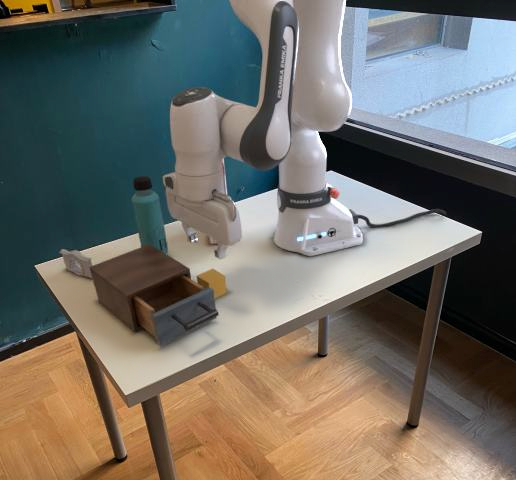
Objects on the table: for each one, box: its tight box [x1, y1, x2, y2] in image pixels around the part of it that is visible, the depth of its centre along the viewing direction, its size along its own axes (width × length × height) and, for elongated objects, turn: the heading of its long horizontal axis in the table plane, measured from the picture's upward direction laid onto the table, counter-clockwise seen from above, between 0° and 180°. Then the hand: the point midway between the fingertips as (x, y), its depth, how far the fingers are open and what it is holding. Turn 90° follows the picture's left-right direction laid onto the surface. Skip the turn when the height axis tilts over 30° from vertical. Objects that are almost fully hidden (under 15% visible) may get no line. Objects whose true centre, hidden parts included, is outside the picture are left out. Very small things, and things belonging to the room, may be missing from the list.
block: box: [196, 268, 227, 299], centre depth 111 cm, size 4×4×4 cm
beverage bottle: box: [131, 175, 169, 255], centre depth 120 cm, size 6×7×20 cm
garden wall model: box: [59, 249, 94, 279], centre depth 119 cm, size 12×2×6 cm, turn 58°
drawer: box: [131, 275, 220, 347], centre depth 101 cm, size 20×13×7 cm
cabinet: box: [89, 244, 192, 333], centre depth 108 cm, size 16×15×9 cm
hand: (206, 249), depth 106 cm, fingers open, 8 cm apart
